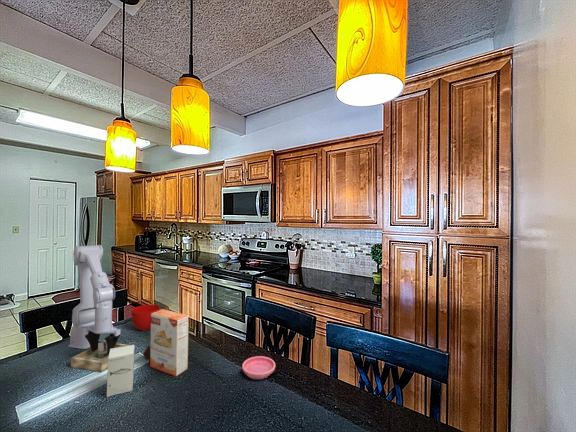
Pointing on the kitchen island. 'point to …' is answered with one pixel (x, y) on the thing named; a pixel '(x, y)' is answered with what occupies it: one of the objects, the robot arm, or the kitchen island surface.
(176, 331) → the cracker box
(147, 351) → the bolt
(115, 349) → the supplement box
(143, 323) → the red bowl
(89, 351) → the open box
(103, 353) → the peg
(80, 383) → the kitchen island surface
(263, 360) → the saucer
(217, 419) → the kitchen island surface
